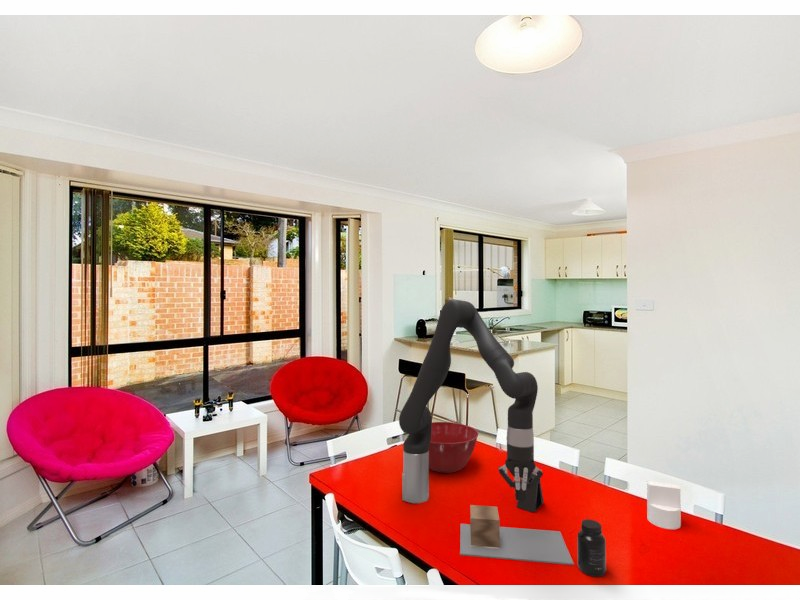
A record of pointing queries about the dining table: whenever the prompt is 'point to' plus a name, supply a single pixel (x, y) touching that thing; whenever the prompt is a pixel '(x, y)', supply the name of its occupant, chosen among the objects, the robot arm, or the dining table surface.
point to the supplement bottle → (591, 548)
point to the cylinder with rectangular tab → (664, 505)
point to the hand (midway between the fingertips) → (520, 501)
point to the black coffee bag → (532, 497)
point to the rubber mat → (520, 545)
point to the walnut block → (484, 526)
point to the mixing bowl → (451, 446)
